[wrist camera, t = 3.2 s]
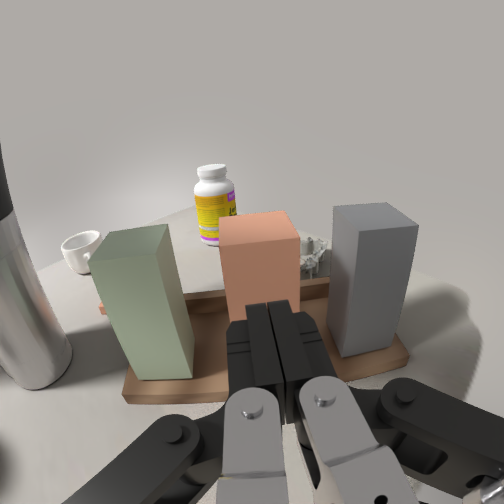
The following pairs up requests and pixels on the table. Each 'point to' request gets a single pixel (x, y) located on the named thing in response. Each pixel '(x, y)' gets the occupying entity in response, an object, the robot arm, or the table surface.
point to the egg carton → (311, 264)
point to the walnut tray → (215, 351)
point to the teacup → (81, 250)
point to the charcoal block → (368, 275)
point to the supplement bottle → (213, 201)
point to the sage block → (145, 301)
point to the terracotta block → (259, 260)
